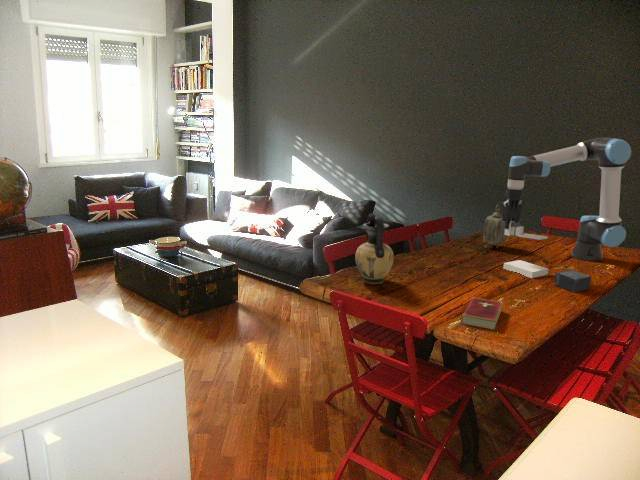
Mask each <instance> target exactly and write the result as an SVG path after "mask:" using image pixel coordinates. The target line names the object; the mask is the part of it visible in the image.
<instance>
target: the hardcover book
mask: <svg viewBox="0 0 640 480" xmlns="http://www.w3.org/2000/svg"><path fill="white" fill-rule="evenodd" d="M503 305H504V302H503V301H497V300H492V299H491V300H490V299H485V298H480V297H474V296H473V297H471V300H470V301H469V303H468V305H467V307H466V309H465V310H464V312H463V313H462V316H461V325H462V324H464V325H469V326H475V327H480V328H484V329H489V330H495V328H496V325H497V323H498V320H499V317H500V315H501V313H502V307H503Z"/></svg>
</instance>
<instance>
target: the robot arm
mask: <svg viewBox="0 0 640 480" xmlns="http://www.w3.org/2000/svg"><path fill="white" fill-rule="evenodd" d="M631 155H632V148H631V145H630V144H629V143H628V142H627V141H626V140H624V139H620V138H615V137H614V138H613V137H612V138H611V137H597V138H592V139H589V140H585V141H582V142H578V143H577V144H576V145H572V146H569V147H564V148H561V149H556V150H553V151H547V152H544V153H539V154H535V155H532V156H522V155H513V156H511V157H510V161H509V168H508V178H507V185H506V186H507V188H506V193H505V194H506V195H505V196H507V198H506V201H502V217H503V221H504V222H505V234H504V235H506V237H507V236H508V237H510V236H515V232H516V227H511V223H510V222H516V223H519V221H520V217H521V214H522V210H523V209H522V208H523V205H524V202H525V201H523V200H522V199H521V198H522V197H523V193H524V189H523V188H524V187H525V178H526V177H538V178H539V177H540V178H543V177H548V176H549V174H550V172H551V167H552V168H553V167H556V166H560V165H563V164H567V163H572V162H577V161H581V162H584V161H589V160H590V161H598V164H597V165H598V168H599V169H600V170H601V176H600V177H601V179H600V195H599V197H600V199H599V214H598V215H582V216H581V217H580V221H579V227H578V233H577V234H578V235H577V240H576V243H575V245H574V247H573V248H572V250H571V253H570V254H571V257H573V258H575V259H579V260H581V261H582V260H583V261H589V262H599V261H602V260H603V257H604V256H603V251H602V245H603V246H605V247H608V248H615V247H618V246H619V245H621V244H622V243H623V242H624V241H625V240H626V237H627V230H626V229H625V227H624V226H622V224H623V223H622V218H621V217H620V215H619V213H620V196H621V179H622V170H623V168H624V167H626V163H627V162H628V160H629V159H630V157H631Z"/></svg>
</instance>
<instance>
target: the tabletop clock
mask: <svg viewBox="0 0 640 480" xmlns="http://www.w3.org/2000/svg"><path fill="white" fill-rule="evenodd" d="M500 209H501V205H500V203H498V204H496V206H495V212H493V213H492V214H491V215H488V216H487V217H486V218H485V221H484V225H483V226H484V227H483V233H482V234H483V235H482V241H483V242H487V244H486V245H484V248H485V249H487V248H488V246H489V244H490V245H492V246H494V244H496V245H495V248H496V249H499V248H500V247H499V244H500V243H502V242H504V241H506V239H507V235H504V234H505V226H503V225H501V221H503V215H502V213H501V212H500Z"/></svg>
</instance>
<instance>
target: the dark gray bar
mask: <svg viewBox="0 0 640 480" xmlns="http://www.w3.org/2000/svg"><path fill="white" fill-rule="evenodd" d="M510 223H511V227H515V231H514V236H516V237H518V238H519V237H520V238H526V239H531V240H538V241H539V240H546V239H548V238H549V237H548V236H546V235H539V234H533V233H526V232H525V233H524V228H525V226H522V225H521V224H522V223H521V222H510ZM501 225H503V226H505V222H504V221H501Z"/></svg>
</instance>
